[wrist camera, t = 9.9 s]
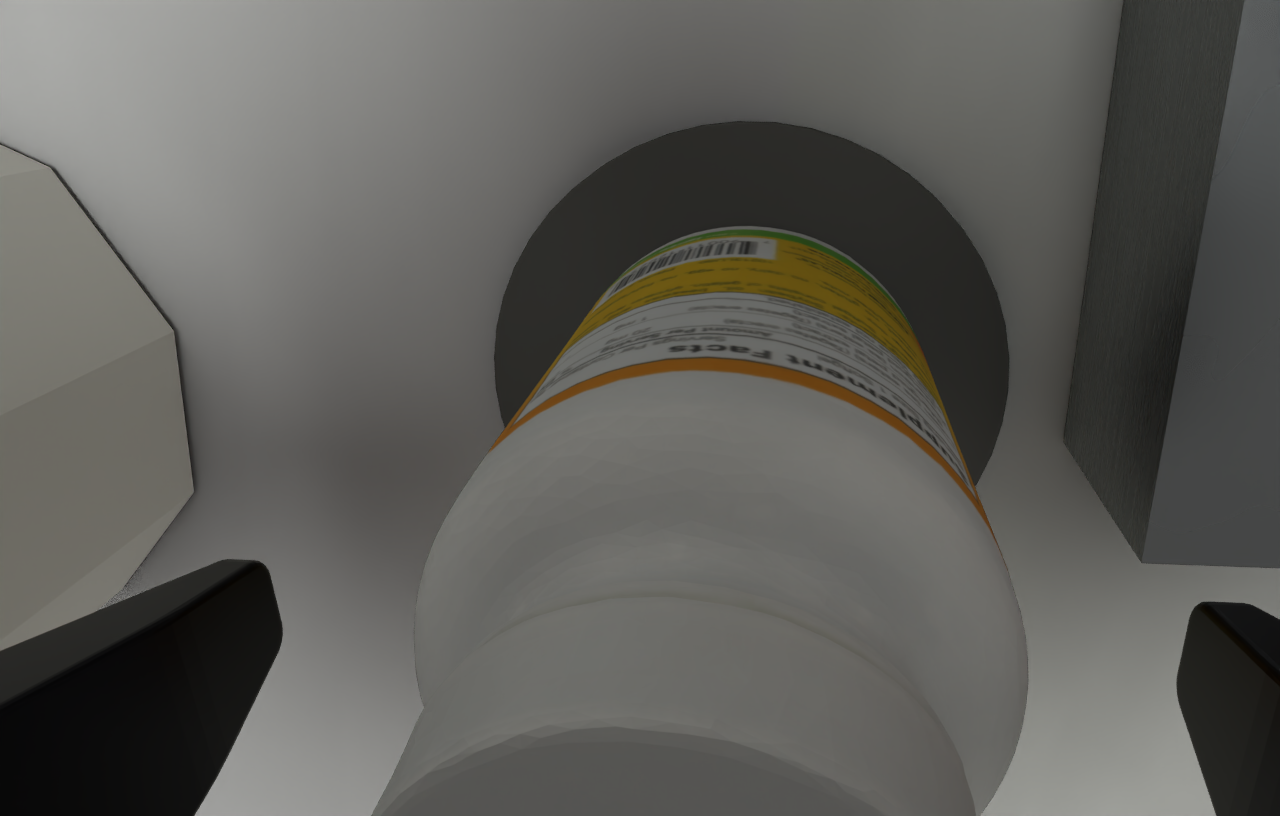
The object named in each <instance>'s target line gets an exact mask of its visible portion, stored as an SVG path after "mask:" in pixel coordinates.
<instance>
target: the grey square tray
mask: <svg viewBox="0 0 1280 816" xmlns="http://www.w3.org/2000/svg"><path fill="white" fill-rule="evenodd" d="M1064 444H1065V445H1066V447H1067V448H1068V450H1069V451H1070V453H1071V454H1072V456H1073V458H1074V459H1075V461H1076V462H1077V464H1078V465H1079V467H1080V468H1081V470H1082V472H1083V473H1084V475H1085V476H1086V478H1087V479H1088V481H1089V482H1090V484H1091V486H1092V487H1093V489H1094V490H1095V492H1096V493H1097V495H1098V496H1099V498H1100V500H1101V501H1102V503H1103V504H1104V506H1105V507H1106V509H1107V510H1108V512H1109V514H1110V515H1111V517H1112V518H1113V520H1114V521H1115V523H1116V524H1117V526H1118V528H1119V529H1120V531H1121V532H1122V534H1123V535H1124V537H1125V538H1126V540H1127V542H1128V543H1129V545H1130V546H1131V548H1132V549H1133V551H1134V552H1135V554H1136V556H1137V557H1138V559H1139V560H1140V562H1141V563H1152V564H1179V565H1206V566H1233V567H1260V568H1280V0H1124V6H1123V13H1122V20H1121V28H1120V35H1119V42H1118V49H1117V57H1116V64H1115V71H1114V79H1113V86H1112V93H1111V100H1110V108H1109V115H1108V122H1107V130H1106V137H1105V144H1104V151H1103V159H1102V166H1101V173H1100V181H1099V188H1098V195H1097V202H1096V210H1095V217H1094V224H1093V232H1092V239H1091V246H1090V253H1089V261H1088V268H1087V275H1086V283H1085V290H1084V297H1083V304H1082V312H1081V319H1080V326H1079V334H1078V341H1077V348H1076V355H1075V363H1074V370H1073V377H1072V385H1071V392H1070V399H1069V406H1068V414H1067V421H1066V428H1065V436H1064Z"/></svg>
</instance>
